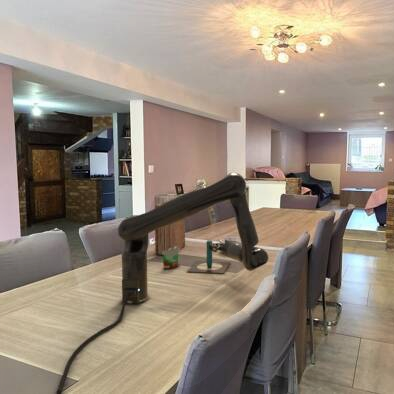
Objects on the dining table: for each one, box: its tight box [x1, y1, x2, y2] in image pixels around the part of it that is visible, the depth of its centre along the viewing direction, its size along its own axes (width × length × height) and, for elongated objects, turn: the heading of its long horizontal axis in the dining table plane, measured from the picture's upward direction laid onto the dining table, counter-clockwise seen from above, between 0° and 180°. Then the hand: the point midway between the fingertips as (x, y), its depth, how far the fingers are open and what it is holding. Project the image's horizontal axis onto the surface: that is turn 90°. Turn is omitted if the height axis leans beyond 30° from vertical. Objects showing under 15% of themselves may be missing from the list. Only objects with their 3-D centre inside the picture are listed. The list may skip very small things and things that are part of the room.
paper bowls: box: [219, 236, 242, 244], centre depth 206 cm, size 15×15×8 cm
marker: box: [206, 240, 213, 268], centre depth 172 cm, size 3×3×14 cm
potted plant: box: [161, 245, 181, 270], centre depth 175 cm, size 12×6×10 cm, turn 168°
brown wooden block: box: [154, 200, 186, 256], centre depth 207 cm, size 25×9×30 cm, turn 174°
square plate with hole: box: [187, 260, 231, 275], centre depth 175 cm, size 18×18×1 cm
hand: (217, 243), depth 163 cm, fingers open, 8 cm apart
